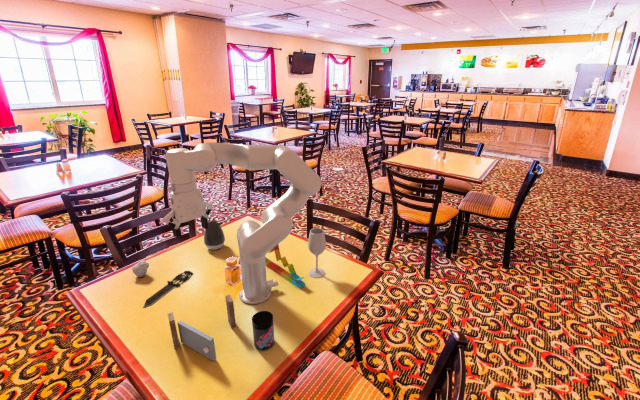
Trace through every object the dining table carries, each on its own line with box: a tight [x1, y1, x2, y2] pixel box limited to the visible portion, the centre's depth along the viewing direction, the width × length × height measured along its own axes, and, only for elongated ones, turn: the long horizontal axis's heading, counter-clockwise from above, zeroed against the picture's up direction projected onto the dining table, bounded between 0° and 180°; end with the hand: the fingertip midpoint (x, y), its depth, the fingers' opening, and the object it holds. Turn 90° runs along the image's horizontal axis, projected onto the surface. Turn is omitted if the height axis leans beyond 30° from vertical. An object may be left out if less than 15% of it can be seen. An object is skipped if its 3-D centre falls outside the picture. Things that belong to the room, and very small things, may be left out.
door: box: [176, 320, 217, 362], centre depth 100 cm, size 15×2×8 cm, turn 60°
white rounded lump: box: [131, 259, 150, 278], centre depth 140 cm, size 6×7×7 cm
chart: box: [265, 244, 306, 289], centre depth 142 cm, size 30×3×15 cm, turn 44°
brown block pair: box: [167, 294, 237, 350], centre depth 108 cm, size 20×4×11 cm, turn 120°
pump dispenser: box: [203, 219, 226, 251], centre depth 163 cm, size 10×10×15 cm
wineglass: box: [307, 227, 327, 279], centre depth 140 cm, size 8×8×21 cm
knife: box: [142, 270, 194, 308], centre depth 133 cm, size 25×6×1 cm, turn 154°
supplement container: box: [251, 310, 275, 351], centre depth 104 cm, size 7×7×10 cm
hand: (192, 232), depth 112 cm, fingers open, 9 cm apart
